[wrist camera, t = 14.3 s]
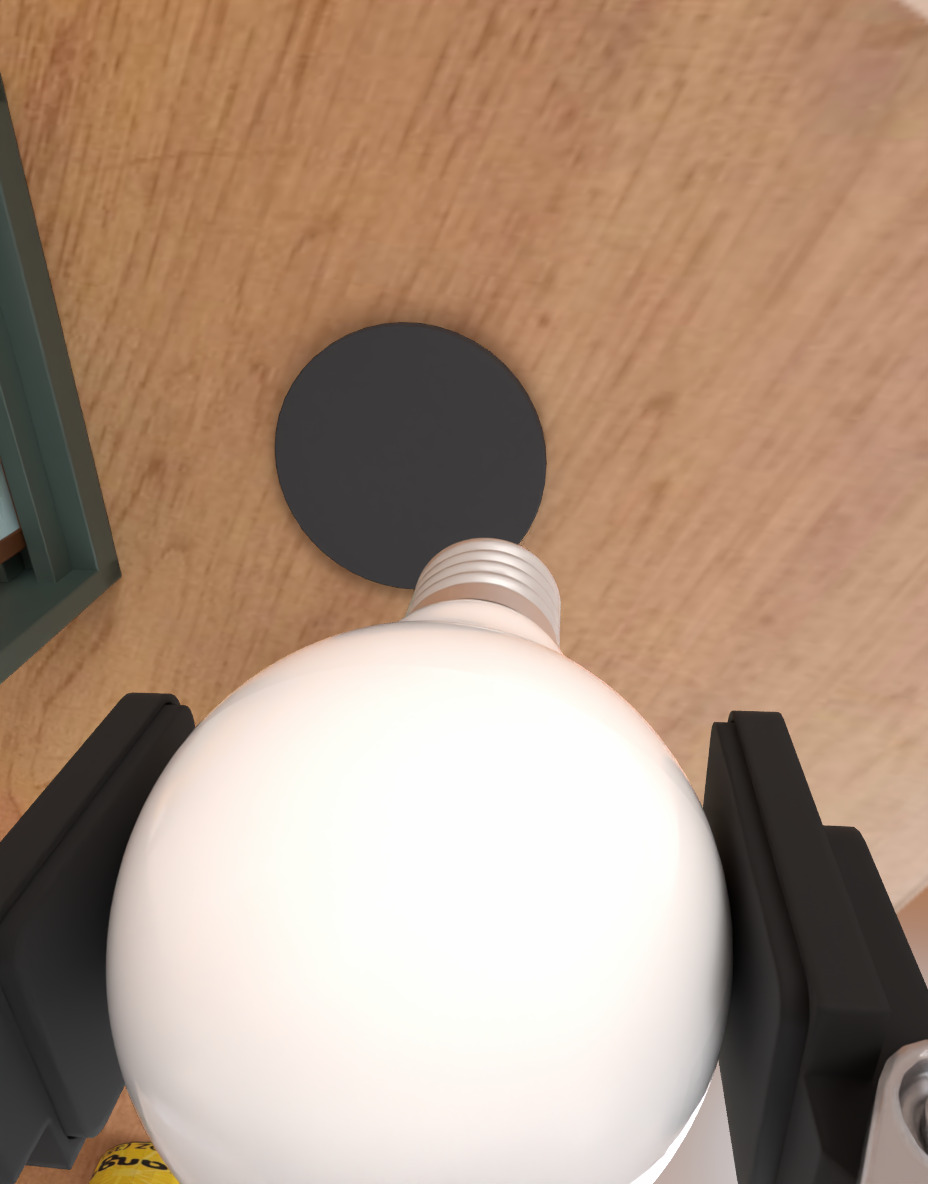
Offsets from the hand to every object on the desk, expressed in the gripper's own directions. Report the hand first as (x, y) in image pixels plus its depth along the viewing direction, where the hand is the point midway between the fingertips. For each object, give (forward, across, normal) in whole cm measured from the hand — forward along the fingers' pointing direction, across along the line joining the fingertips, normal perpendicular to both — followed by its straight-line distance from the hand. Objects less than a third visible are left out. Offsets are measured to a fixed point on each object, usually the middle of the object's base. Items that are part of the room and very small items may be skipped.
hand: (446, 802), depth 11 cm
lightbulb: (+6, 0, 0) cm, 6 cm away
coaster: (+21, +4, +2) cm, 22 cm away
